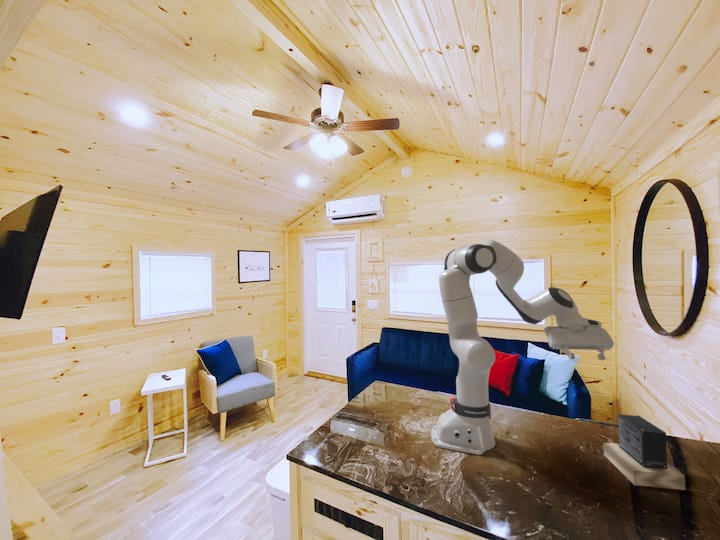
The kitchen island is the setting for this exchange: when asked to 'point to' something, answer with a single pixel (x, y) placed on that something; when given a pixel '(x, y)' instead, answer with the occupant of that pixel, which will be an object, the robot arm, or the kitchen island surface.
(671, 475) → the plinth
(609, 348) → the robot arm
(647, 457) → the small box
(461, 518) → the kitchen island surface
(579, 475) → the kitchen island surface
